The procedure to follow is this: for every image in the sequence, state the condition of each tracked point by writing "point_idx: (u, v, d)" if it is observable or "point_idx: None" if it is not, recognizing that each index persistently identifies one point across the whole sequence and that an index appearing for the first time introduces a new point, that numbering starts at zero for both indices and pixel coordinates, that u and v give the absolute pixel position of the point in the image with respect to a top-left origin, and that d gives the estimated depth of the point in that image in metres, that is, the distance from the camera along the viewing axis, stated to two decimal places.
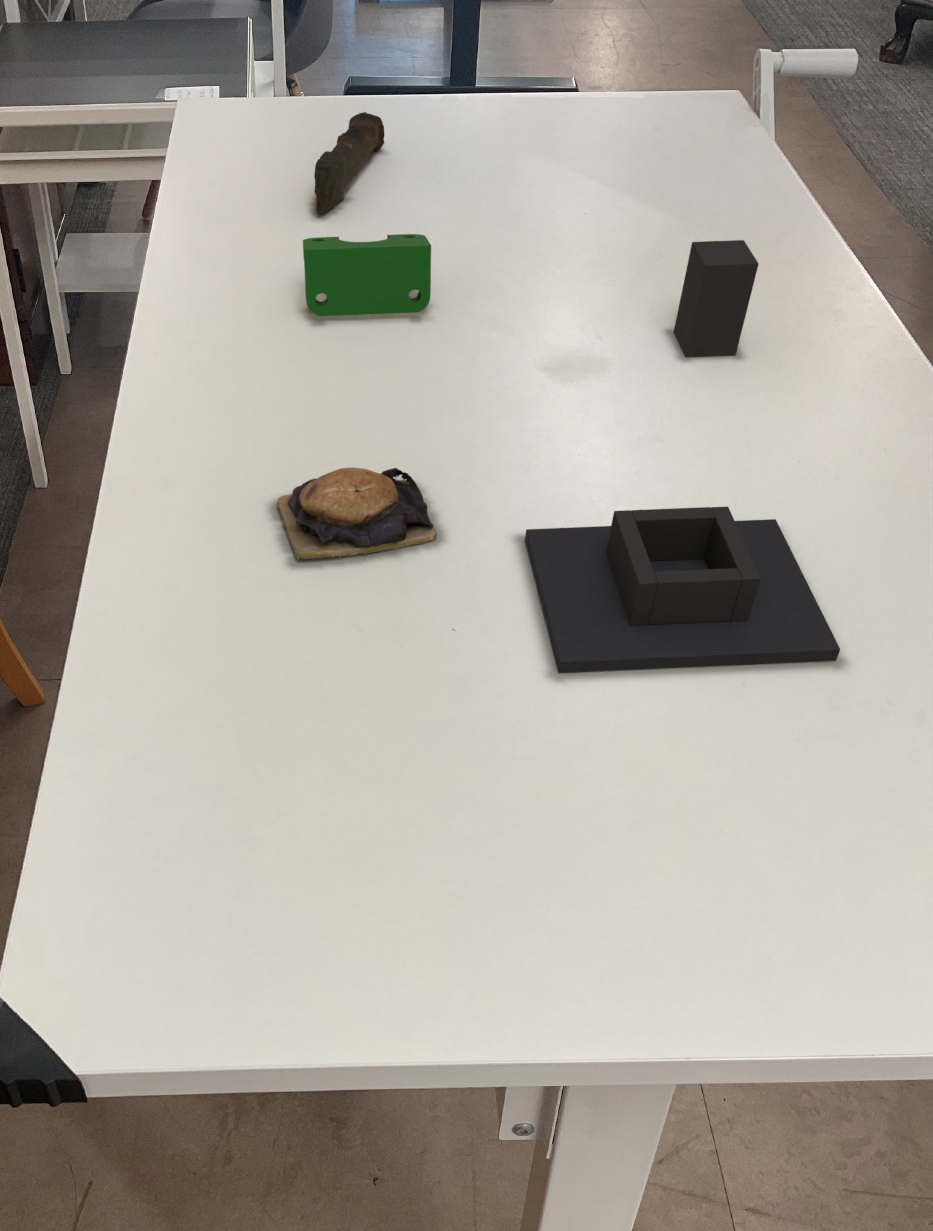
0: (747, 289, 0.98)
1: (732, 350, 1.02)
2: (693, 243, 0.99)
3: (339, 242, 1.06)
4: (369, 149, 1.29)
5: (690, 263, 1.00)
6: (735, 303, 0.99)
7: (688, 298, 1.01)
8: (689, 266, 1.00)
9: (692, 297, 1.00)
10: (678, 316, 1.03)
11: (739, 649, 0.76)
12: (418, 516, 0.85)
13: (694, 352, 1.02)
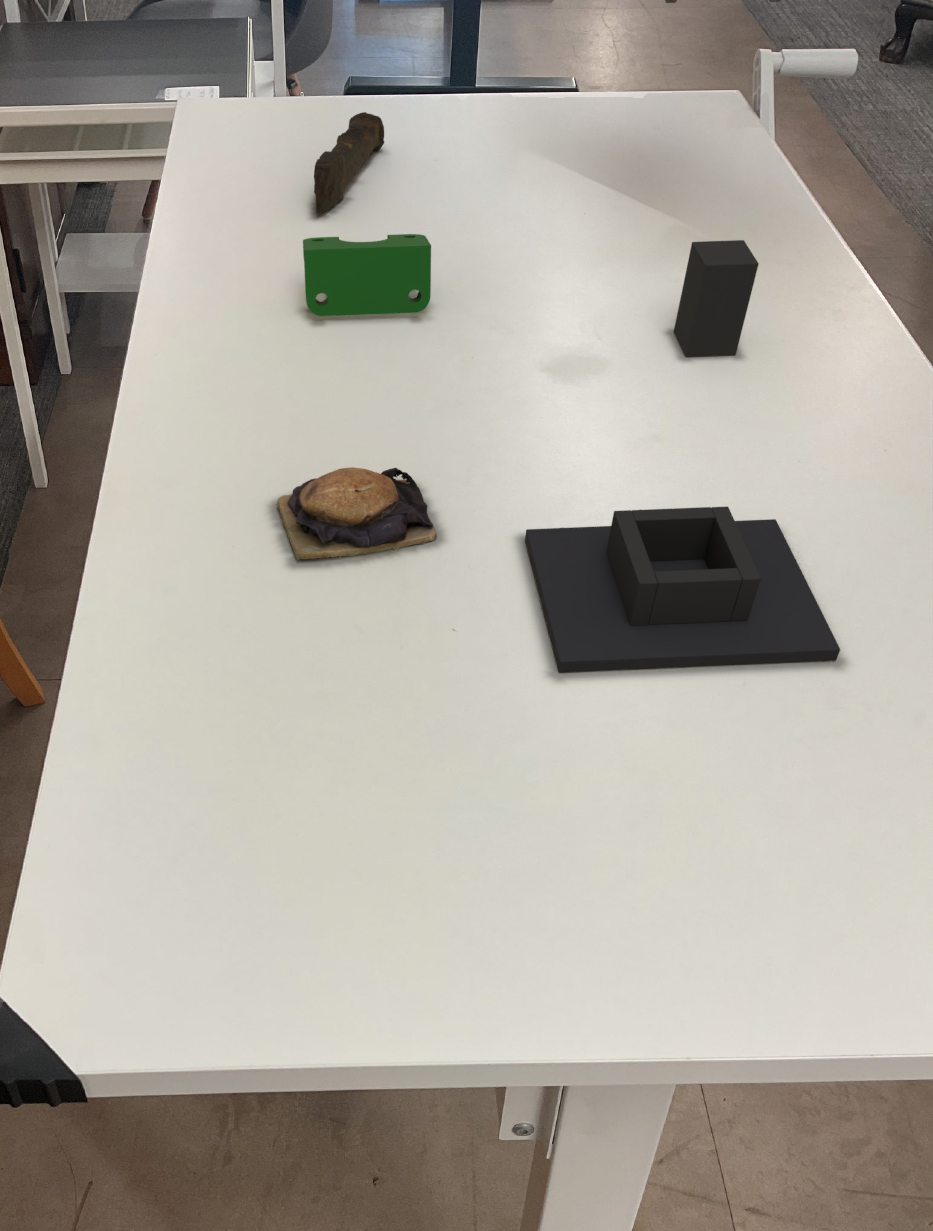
0: (747, 289, 0.98)
1: (732, 350, 1.02)
2: (693, 243, 0.99)
3: (339, 242, 1.06)
4: (369, 149, 1.29)
5: (690, 263, 1.00)
6: (735, 303, 0.99)
7: (688, 298, 1.01)
8: (689, 266, 1.00)
9: (692, 297, 1.00)
10: (678, 316, 1.03)
11: (739, 649, 0.76)
12: (418, 516, 0.85)
13: (694, 352, 1.02)
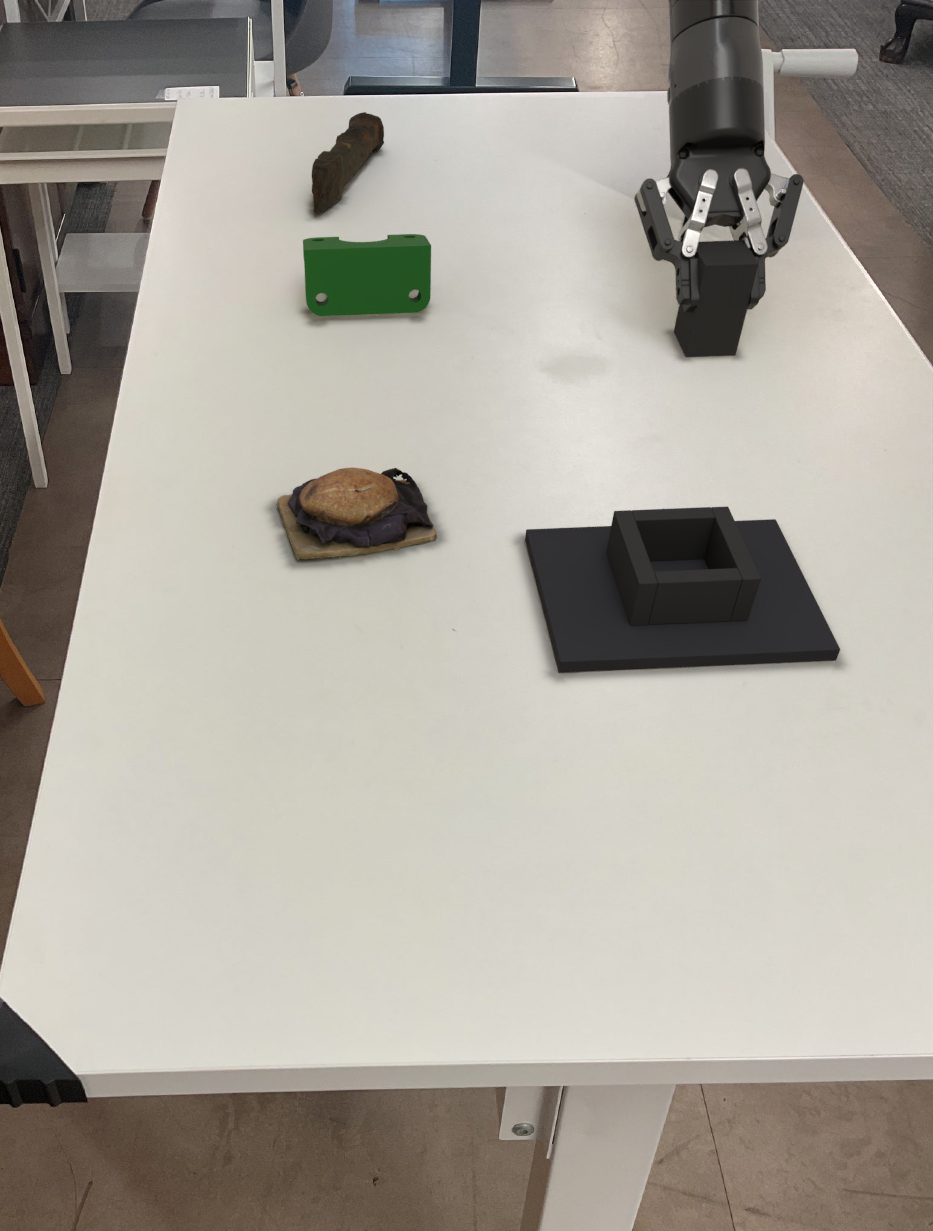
0: (747, 289, 0.98)
1: (732, 350, 1.02)
2: None
3: (339, 242, 1.06)
4: (368, 149, 1.29)
5: None
6: (735, 303, 0.99)
7: None
8: None
9: None
10: (678, 316, 1.03)
11: (739, 649, 0.76)
12: (418, 516, 0.85)
13: (694, 352, 1.02)
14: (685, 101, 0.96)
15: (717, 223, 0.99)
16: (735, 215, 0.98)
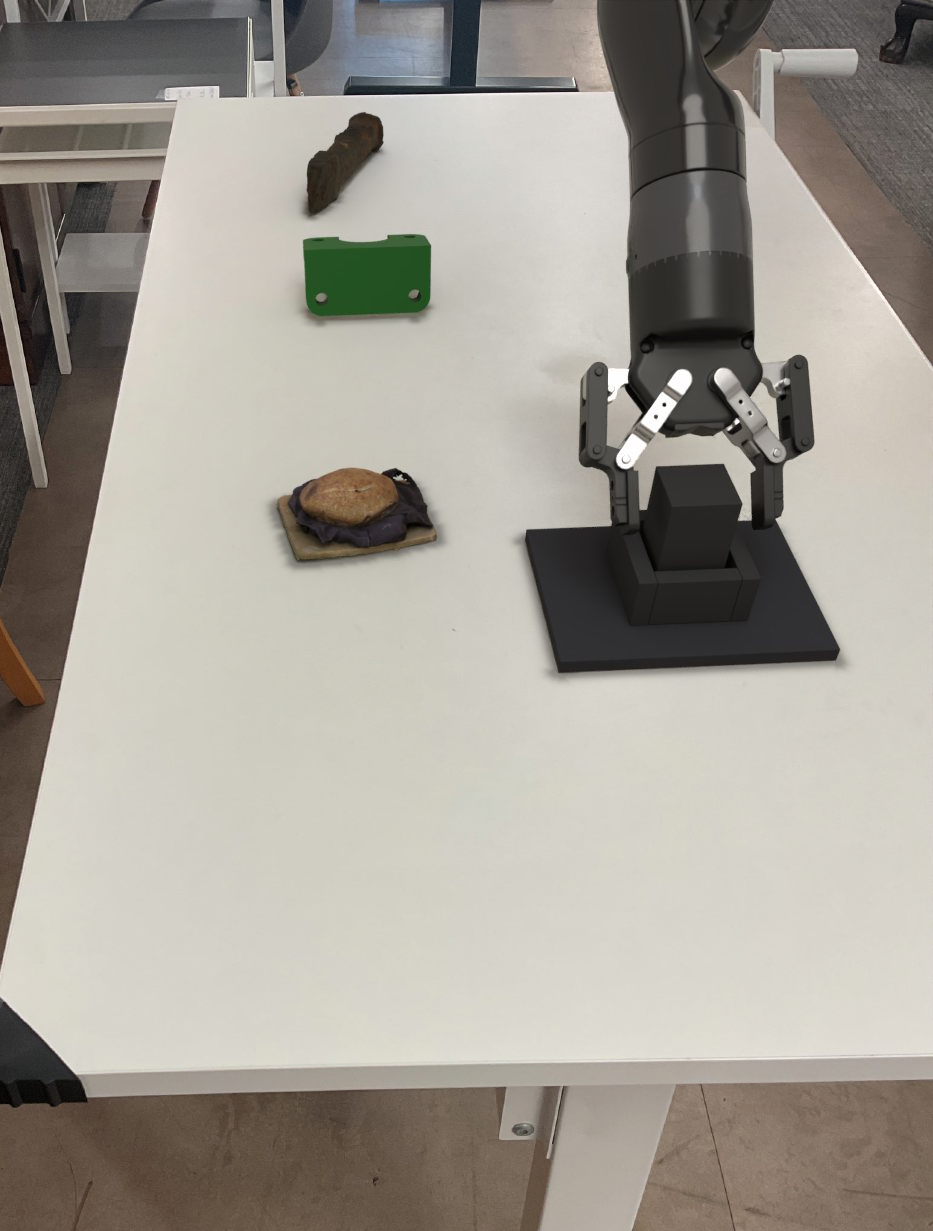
0: (728, 532, 0.74)
1: None
2: (657, 469, 0.75)
3: (339, 242, 1.06)
4: (366, 149, 1.29)
5: (654, 493, 0.76)
6: (713, 548, 0.75)
7: (651, 536, 0.77)
8: (653, 496, 0.76)
9: (656, 537, 0.76)
10: None
11: (739, 649, 0.76)
12: (418, 516, 0.85)
13: None
14: (648, 279, 0.72)
15: (692, 433, 0.75)
16: (715, 427, 0.74)
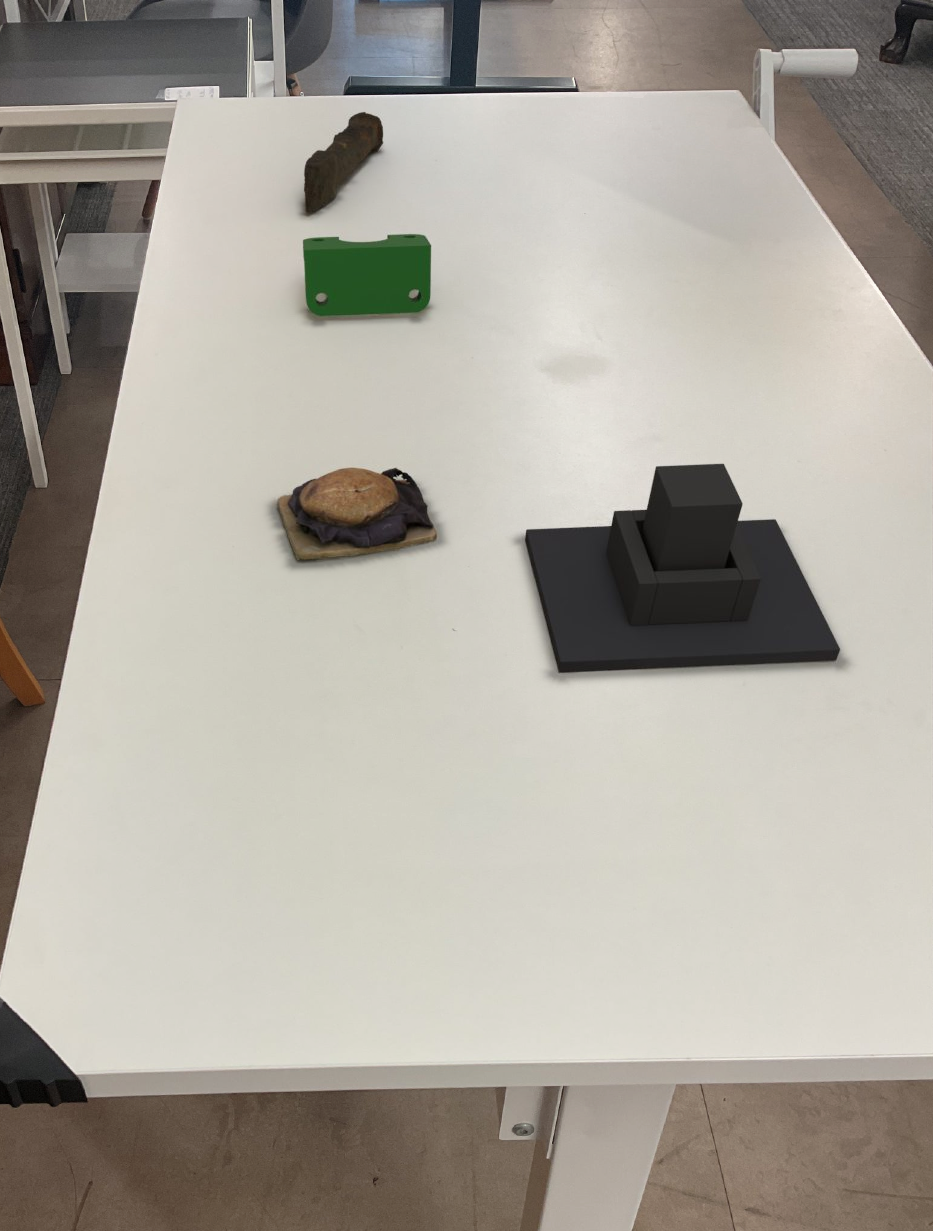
0: (728, 532, 0.74)
1: None
2: (657, 469, 0.75)
3: (339, 242, 1.06)
4: (366, 149, 1.29)
5: (654, 493, 0.76)
6: (713, 548, 0.75)
7: (651, 536, 0.77)
8: (653, 496, 0.76)
9: (656, 537, 0.76)
10: None
11: (739, 649, 0.76)
12: (418, 516, 0.85)
13: None
14: None
15: None
16: None
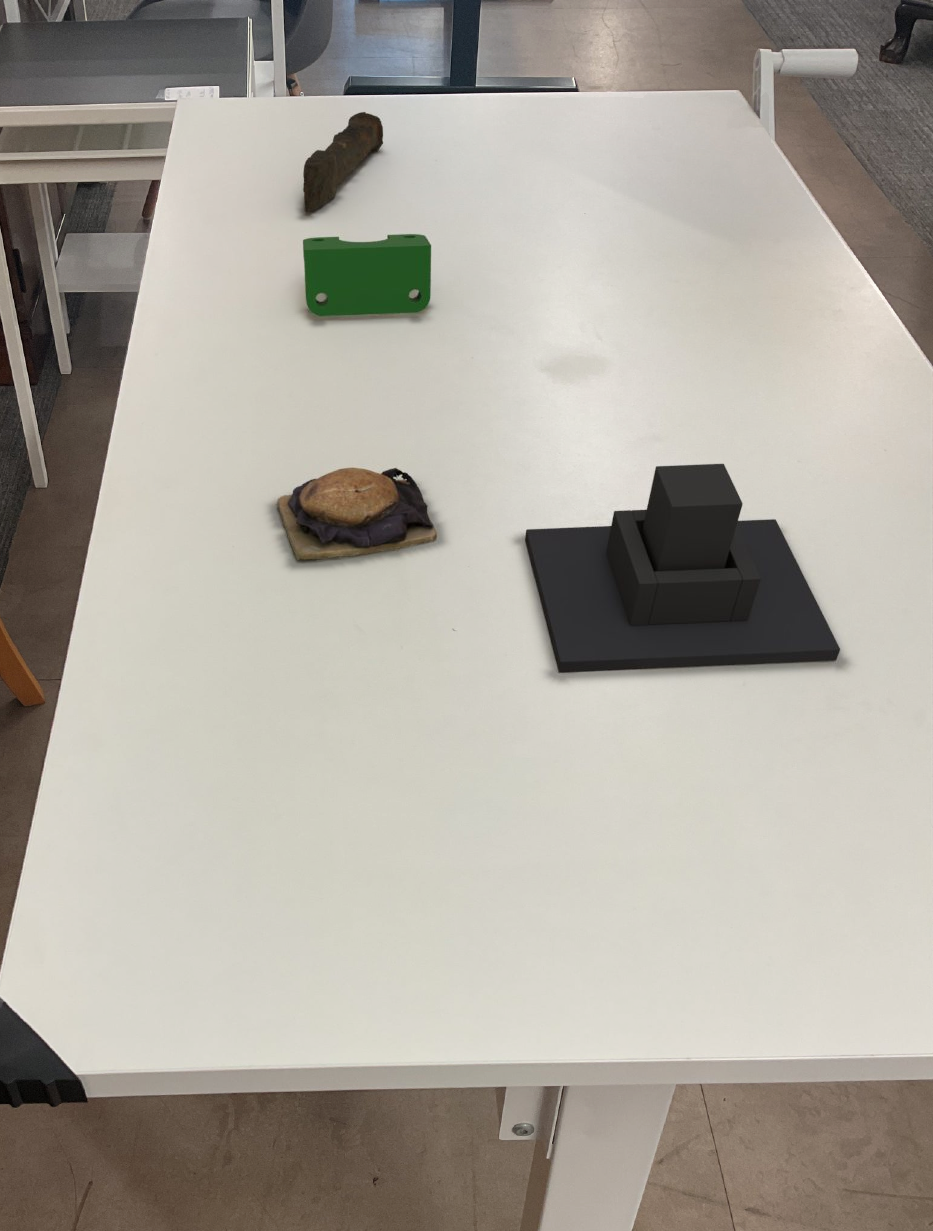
0: (728, 532, 0.74)
1: None
2: (657, 469, 0.75)
3: (339, 242, 1.06)
4: (365, 149, 1.29)
5: (654, 493, 0.76)
6: (713, 548, 0.75)
7: (651, 536, 0.77)
8: (653, 496, 0.76)
9: (656, 537, 0.76)
10: None
11: (739, 649, 0.76)
12: (418, 516, 0.85)
13: None
14: None
15: None
16: None
